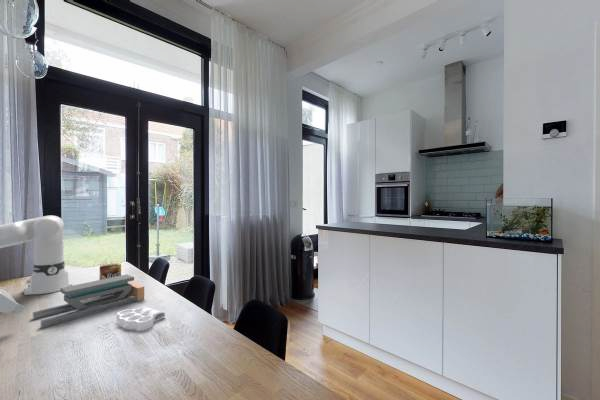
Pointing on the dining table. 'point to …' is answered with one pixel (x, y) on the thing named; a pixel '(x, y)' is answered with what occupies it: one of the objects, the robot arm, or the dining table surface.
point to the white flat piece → (138, 318)
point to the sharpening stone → (97, 291)
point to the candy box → (110, 270)
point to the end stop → (136, 290)
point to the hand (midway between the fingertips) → (22, 309)
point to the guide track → (80, 312)
